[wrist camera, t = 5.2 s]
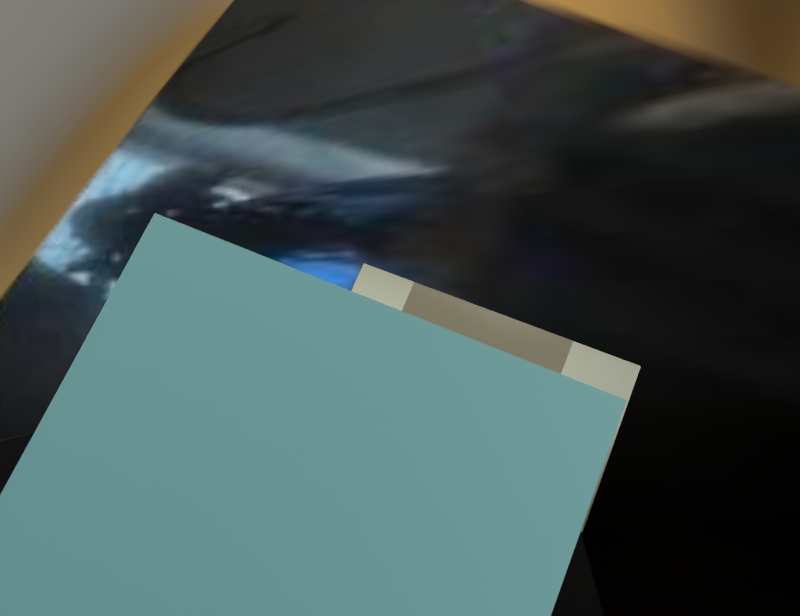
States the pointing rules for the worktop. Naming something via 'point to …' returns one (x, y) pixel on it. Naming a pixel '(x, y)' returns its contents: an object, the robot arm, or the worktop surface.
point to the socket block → (503, 335)
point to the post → (293, 456)
